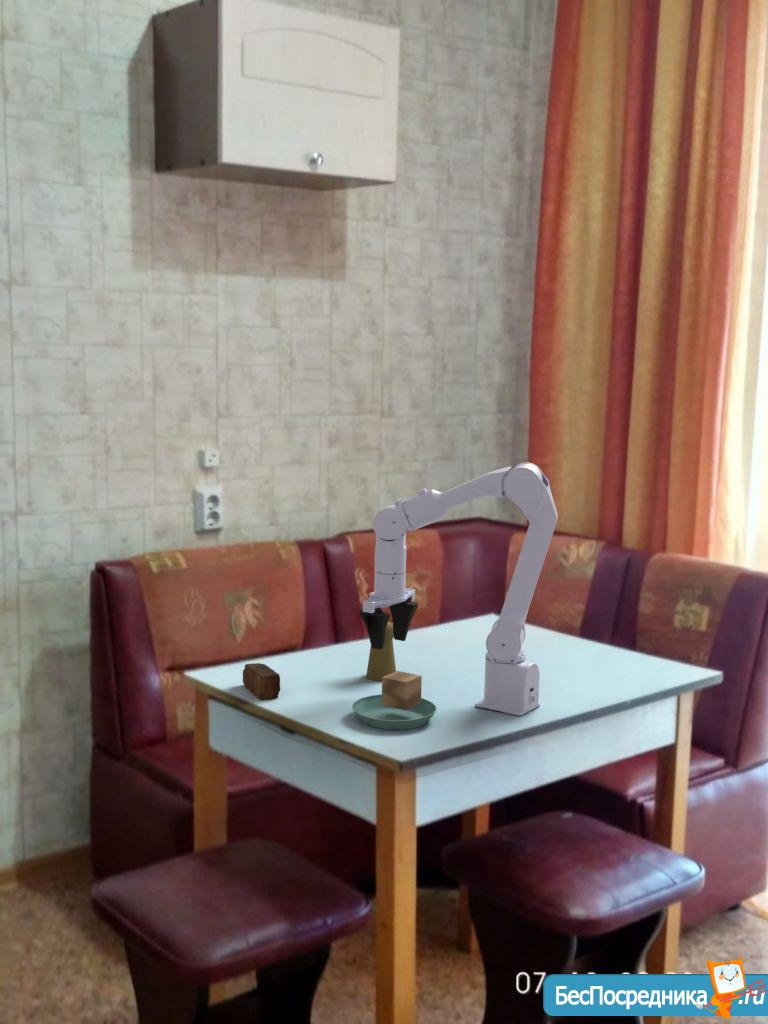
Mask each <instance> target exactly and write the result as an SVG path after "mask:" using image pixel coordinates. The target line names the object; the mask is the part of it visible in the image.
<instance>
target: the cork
mask: <svg viewBox="0 0 768 1024" xmlns="http://www.w3.org/2000/svg"><path fill="white" fill-rule="evenodd" d="M393 639H394V635H393V622H391V621H388V623H387V626H386V631H385V640H384V646H383V649H381V650H380V649H375V648H372V647H371V646H370V649H369V655H368V662H367V669H366V676H365V677H367V678H366V679H368V680H370V681H374V680H375V682H382V677H384V676H386V675H389V674H391V673H394V672H396V671H397V668H396V667H397V666H396V659H395V658H396V657H395V648H394V641H393Z"/></svg>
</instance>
